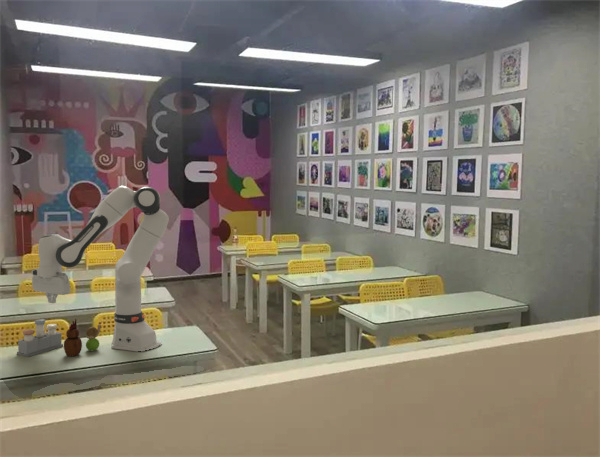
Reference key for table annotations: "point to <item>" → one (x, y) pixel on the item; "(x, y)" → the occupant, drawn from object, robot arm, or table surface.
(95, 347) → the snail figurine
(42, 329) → the slate plug
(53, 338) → the socket board
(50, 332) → the cream plug
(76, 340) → the wooden figurine
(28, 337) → the terracotta plug
